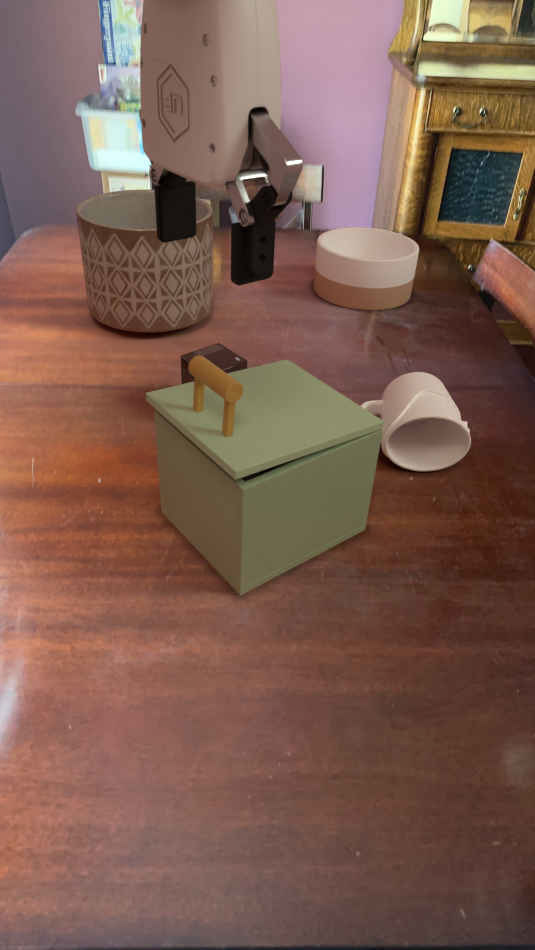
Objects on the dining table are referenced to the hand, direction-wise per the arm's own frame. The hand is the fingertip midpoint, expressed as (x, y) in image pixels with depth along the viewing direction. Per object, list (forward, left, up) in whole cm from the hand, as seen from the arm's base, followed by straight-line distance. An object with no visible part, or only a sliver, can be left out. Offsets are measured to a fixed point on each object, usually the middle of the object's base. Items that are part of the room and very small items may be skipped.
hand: (212, 258), depth 49 cm
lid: (+5, -3, -15) cm, 16 cm away
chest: (+5, -3, -28) cm, 29 cm away
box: (+22, +12, -28) cm, 38 cm away
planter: (+42, +34, -28) cm, 61 cm away
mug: (+25, -12, -28) cm, 40 cm away
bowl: (+69, +8, -28) cm, 75 cm away
